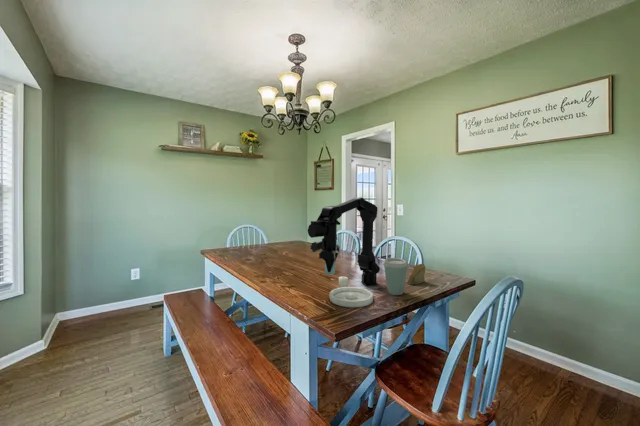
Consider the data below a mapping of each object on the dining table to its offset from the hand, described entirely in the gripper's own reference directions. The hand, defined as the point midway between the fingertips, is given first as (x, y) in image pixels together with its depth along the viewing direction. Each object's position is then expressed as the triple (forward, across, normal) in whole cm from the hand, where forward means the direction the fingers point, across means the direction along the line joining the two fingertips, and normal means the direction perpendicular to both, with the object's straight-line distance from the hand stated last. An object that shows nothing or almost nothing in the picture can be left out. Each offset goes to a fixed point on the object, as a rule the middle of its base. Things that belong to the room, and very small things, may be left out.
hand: (330, 270), depth 126 cm
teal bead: (+1, 0, 0) cm, 1 cm away
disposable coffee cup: (+11, -8, +28) cm, 32 cm away
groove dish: (+11, +3, +10) cm, 15 cm away
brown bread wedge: (+11, -27, +39) cm, 49 cm away
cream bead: (+11, -11, +4) cm, 16 cm away
